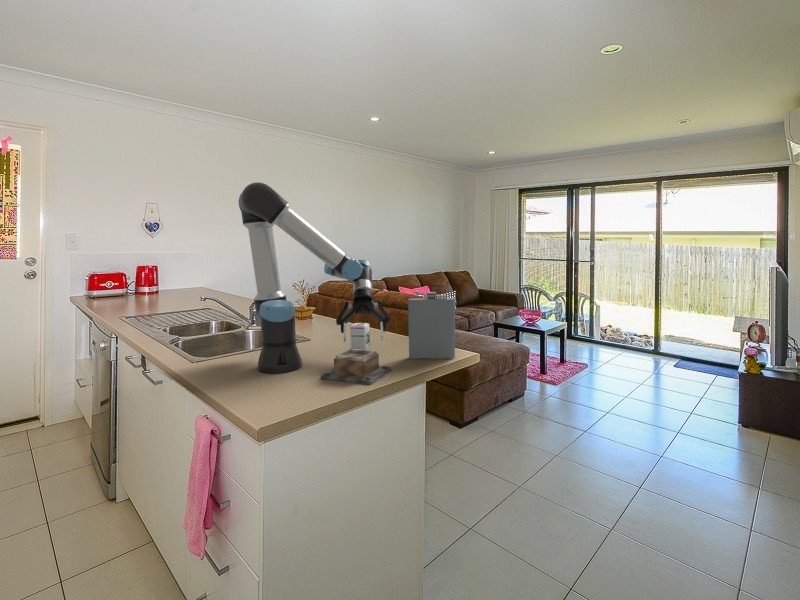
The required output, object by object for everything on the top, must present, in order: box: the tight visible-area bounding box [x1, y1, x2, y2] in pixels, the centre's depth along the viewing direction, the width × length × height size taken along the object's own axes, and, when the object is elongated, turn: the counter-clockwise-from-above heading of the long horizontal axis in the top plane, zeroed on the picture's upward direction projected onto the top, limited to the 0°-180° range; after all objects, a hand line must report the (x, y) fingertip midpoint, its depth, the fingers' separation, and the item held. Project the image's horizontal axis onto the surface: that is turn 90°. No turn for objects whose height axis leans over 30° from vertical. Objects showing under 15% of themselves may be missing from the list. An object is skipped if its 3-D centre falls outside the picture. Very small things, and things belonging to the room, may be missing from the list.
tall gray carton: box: [407, 291, 456, 360], centre depth 161 cm, size 17×5×25 cm, turn 88°
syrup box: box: [349, 322, 371, 350], centre depth 154 cm, size 6×6×14 cm
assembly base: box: [320, 348, 392, 385], centre depth 141 cm, size 18×16×7 cm
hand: (363, 339), depth 155 cm, fingers open, 13 cm apart
